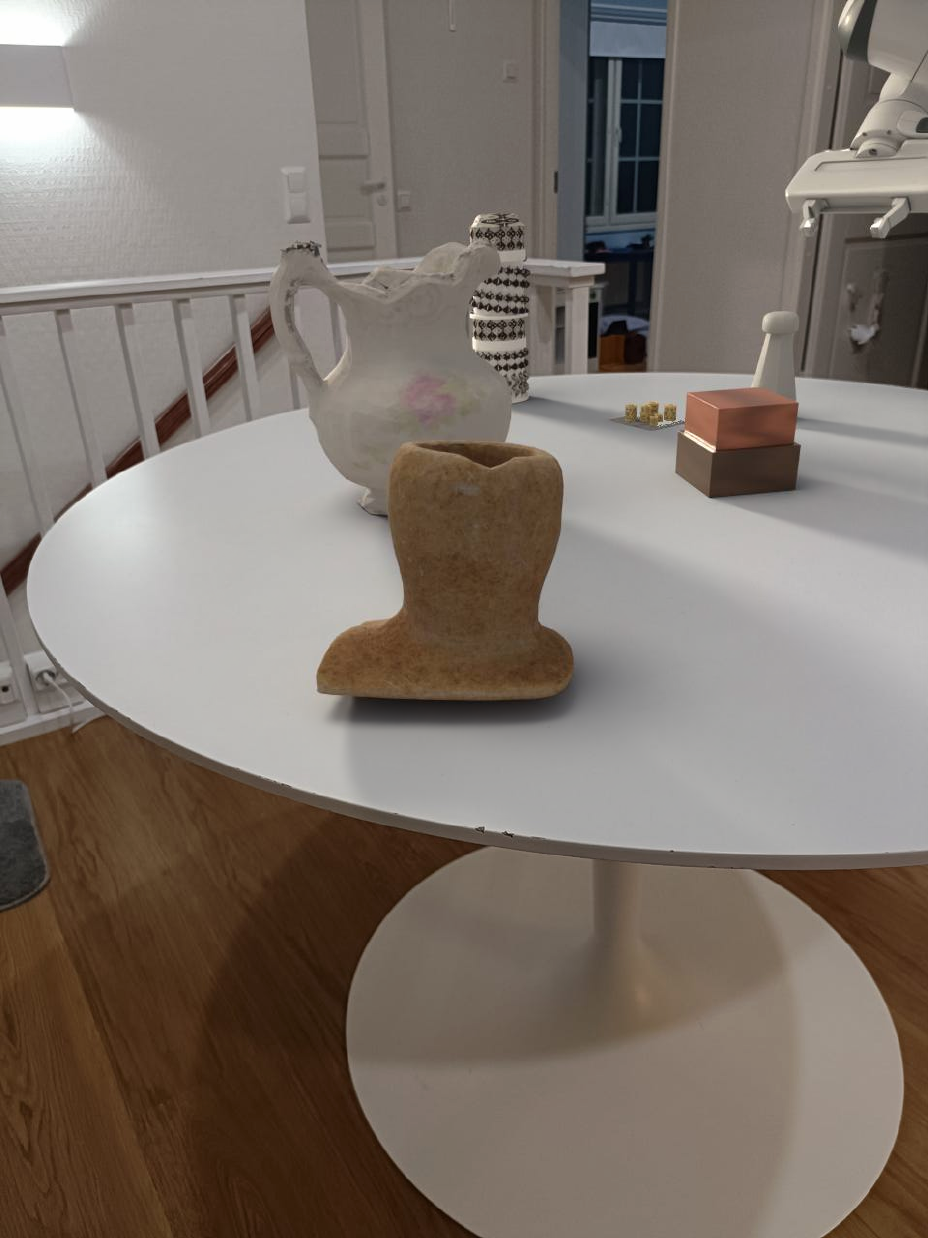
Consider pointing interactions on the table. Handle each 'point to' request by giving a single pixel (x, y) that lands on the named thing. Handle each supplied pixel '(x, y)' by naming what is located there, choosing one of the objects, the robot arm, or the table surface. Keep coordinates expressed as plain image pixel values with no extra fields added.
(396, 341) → the ceramic pitcher
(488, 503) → the stone cup
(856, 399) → the table surface
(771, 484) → the block stack
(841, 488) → the table surface
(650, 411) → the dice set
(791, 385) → the salt shaker
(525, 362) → the white patterned cylinder
